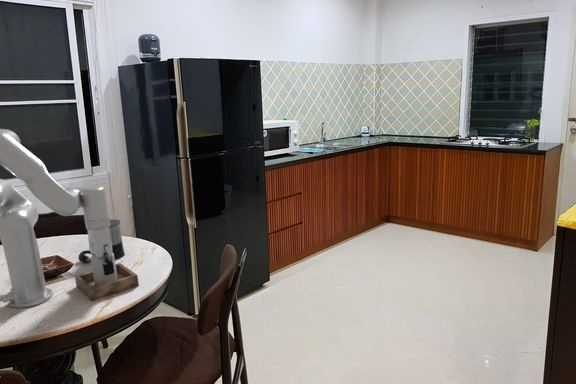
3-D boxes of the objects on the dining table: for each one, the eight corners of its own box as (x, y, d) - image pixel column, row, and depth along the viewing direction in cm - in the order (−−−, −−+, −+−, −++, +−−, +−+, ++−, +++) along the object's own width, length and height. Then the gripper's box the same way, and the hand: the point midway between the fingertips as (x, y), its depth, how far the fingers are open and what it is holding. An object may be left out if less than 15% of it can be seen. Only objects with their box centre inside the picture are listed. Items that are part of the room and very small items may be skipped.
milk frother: (130, 254, 185) (125, 220, 182) (98, 268, 172) (92, 232, 168) (106, 249, 192) (101, 217, 188) (74, 263, 178) (68, 228, 175)
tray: (91, 301, 144) (89, 290, 143) (76, 286, 156) (74, 276, 155) (138, 285, 154) (137, 275, 154) (121, 272, 166) (119, 262, 165)
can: (110, 289, 151) (104, 256, 147) (90, 287, 152) (84, 255, 149) (122, 279, 158) (117, 247, 155) (103, 278, 159) (98, 247, 156)
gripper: (78, 220, 154) (85, 266, 158) (94, 230, 141) (102, 281, 145) (100, 215, 159) (106, 260, 163) (118, 225, 146) (125, 274, 150)
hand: (104, 270), depth 154 cm, fingers open, 8 cm apart
